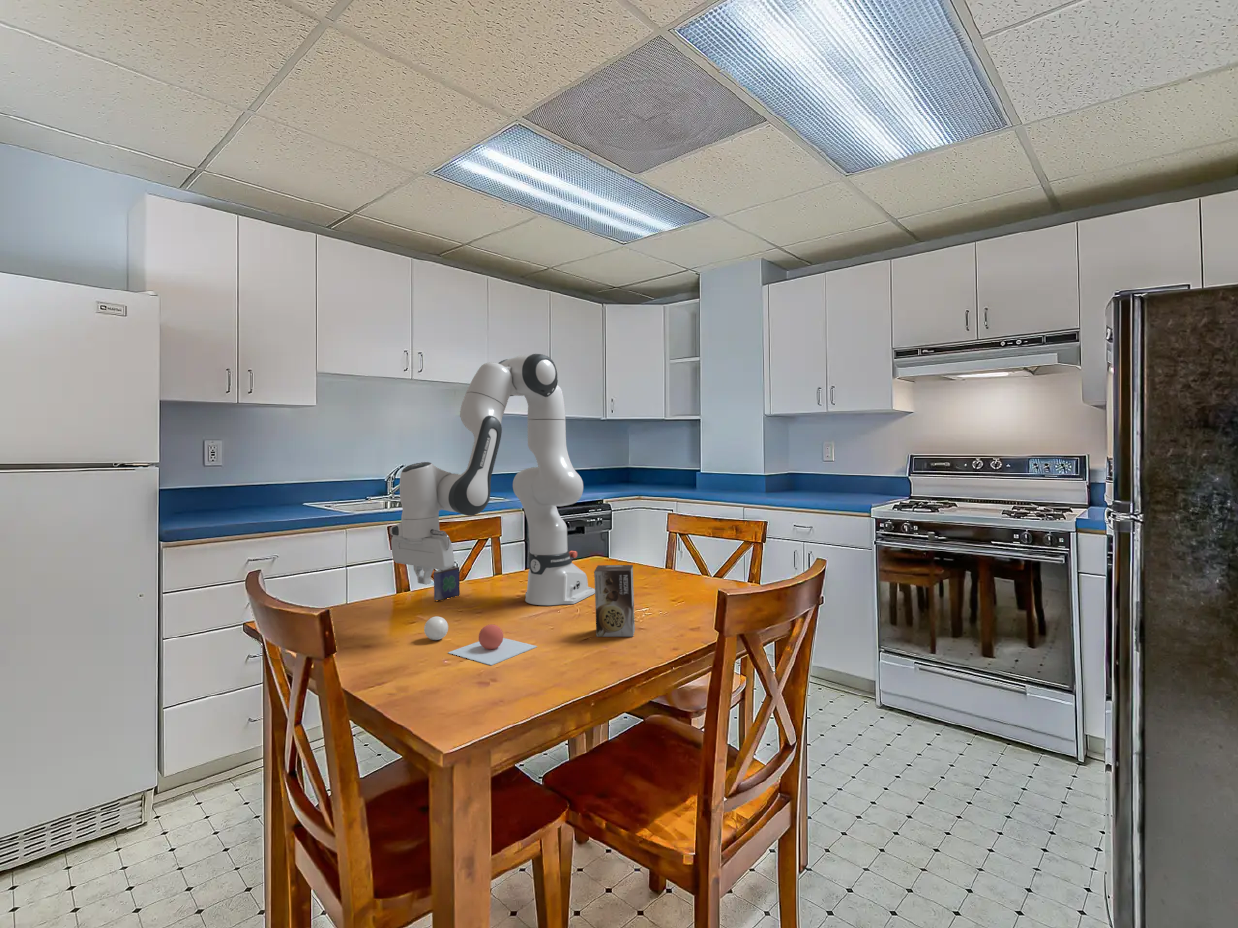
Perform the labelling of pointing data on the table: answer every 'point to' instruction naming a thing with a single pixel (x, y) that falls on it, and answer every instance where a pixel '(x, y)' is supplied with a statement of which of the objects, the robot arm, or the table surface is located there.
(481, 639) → the object ball
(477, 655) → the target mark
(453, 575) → the flask
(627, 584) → the coffee box
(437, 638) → the cue ball
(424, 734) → the table surface
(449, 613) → the table surface
